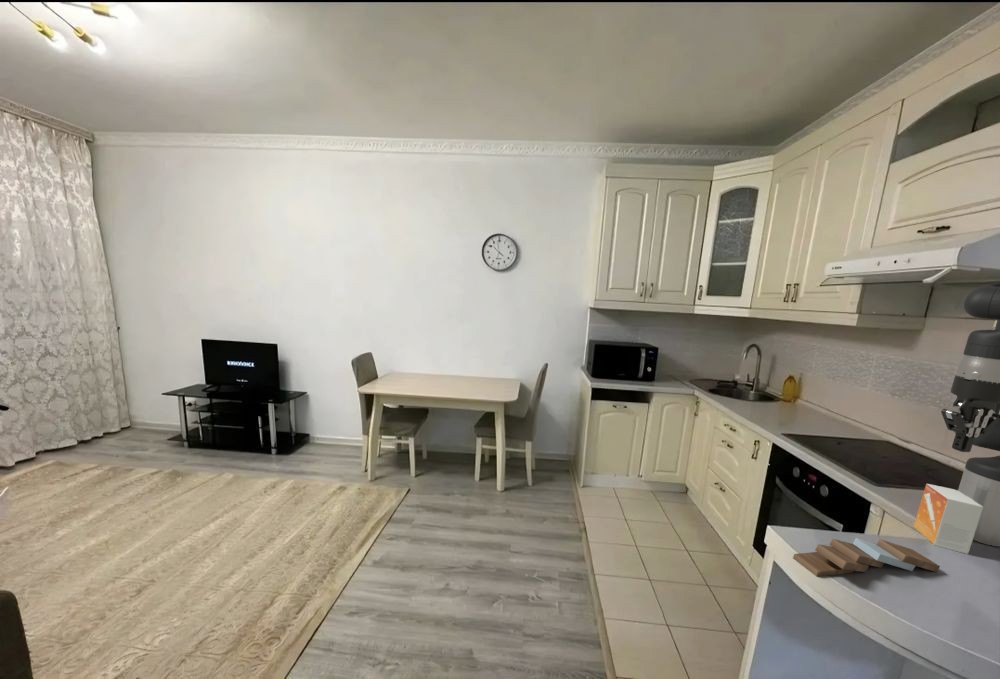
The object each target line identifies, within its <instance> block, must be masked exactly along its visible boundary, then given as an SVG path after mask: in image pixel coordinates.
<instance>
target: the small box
mask: <svg viewBox="0 0 1000 679" xmlns="http://www.w3.org/2000/svg"><path fill="white" fill-rule="evenodd" d="M982 510H983V506H981V505H980V504H978V503H977V502H975V501H974V500H973V499H971V498H970V497H968V496H966V495H964V494H963V493H961V492H960V491H958V489H954V488H950V487H945V486H939V485H935V484H930V483H926V484H925V486H924V491H923V493H922V497H921V500H920V503H919V506H918V510H917V513H916V516H915V519H914V523H913V527H914V528H915V529H916V530H917V531H918V532H919V533H921V535H923V536H924V537H925V538H926V539H927V540H928V541H929V542H930V541H931V542H932V543H933V544H932V543H931V542H930V543H931V544H932V545H933V546H935V547H940V548H942V549H946V548H947V550H951V551H955V552H958V553H962V554H965V555H969V553H970V549H971V547H972V544H973V541H974V540H973V538H974V535H975V532H976V529H977V525H978V522H979V519H980V516H981V513H982Z"/></svg>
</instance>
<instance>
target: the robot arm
mask: <svg viewBox="0 0 1000 679" xmlns="http://www.w3.org/2000/svg"><path fill="white" fill-rule="evenodd" d="M964 299H965V300H964V301H963V302H964V303H963V308H964V311H965V313H967V314H968V315H969V316H971V317H974V318H977V319H982V320H983V319H986V320H997V321H996V324H995V327H994V329H977V330H973V331H972V332H970V333H969V335H968V337H967V341H966V344H965V348H964V350H963V353H962V355H961V358H960V360H959V363H958V364H957V368H956V371H955V375H954V378H953V382H952V384H951V387H950V393H952V395H955V396H956V399H955V400H954V401H953V404H952V406H953V407H952V408H950V409H946V408H942V409H941V416H942V418H943V420H944V424H945V425H946V428H947V430H948V431H952V432H953V433H955V435H954V437H953V442H952V446H951V448H952V449H953V450H956V451H958V452H962V453H970V452H971V451H972V449H973V448H972V447H973V446H975V447H979V448H982V449H983V448H984V449H987V450H993V451H996V452H997V451H998V452H1000V282H999V281H998V282H993V283H989V284H988V283H987V284H984V285H981V286H979V287H976V288H975V289H974V290H972V291H971V292H969V293H968V295H967V296H966V298H964ZM957 490H958V491H960V492H961V493H963V494H964V495H966V496H968V497H970V498H971V499H973V500H974V501H975V502H977V503H978V504H980V505H981V506H983V510H982V513H981V516H980V519H979V522H978V525H977V529H976V532H975V535H974V538H973V541H975V542H978V543H980V544H984V545H987V546H991V545H992V547H996V546H1000V455H995V456H986V457H985V456H984V457H983V456H981V457H978V456H977V457H969V458H968V459H967V461H966V464H965V466H964V468H963V473H962V476H961V480H960V483H959V486H958V489H957Z"/></svg>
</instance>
